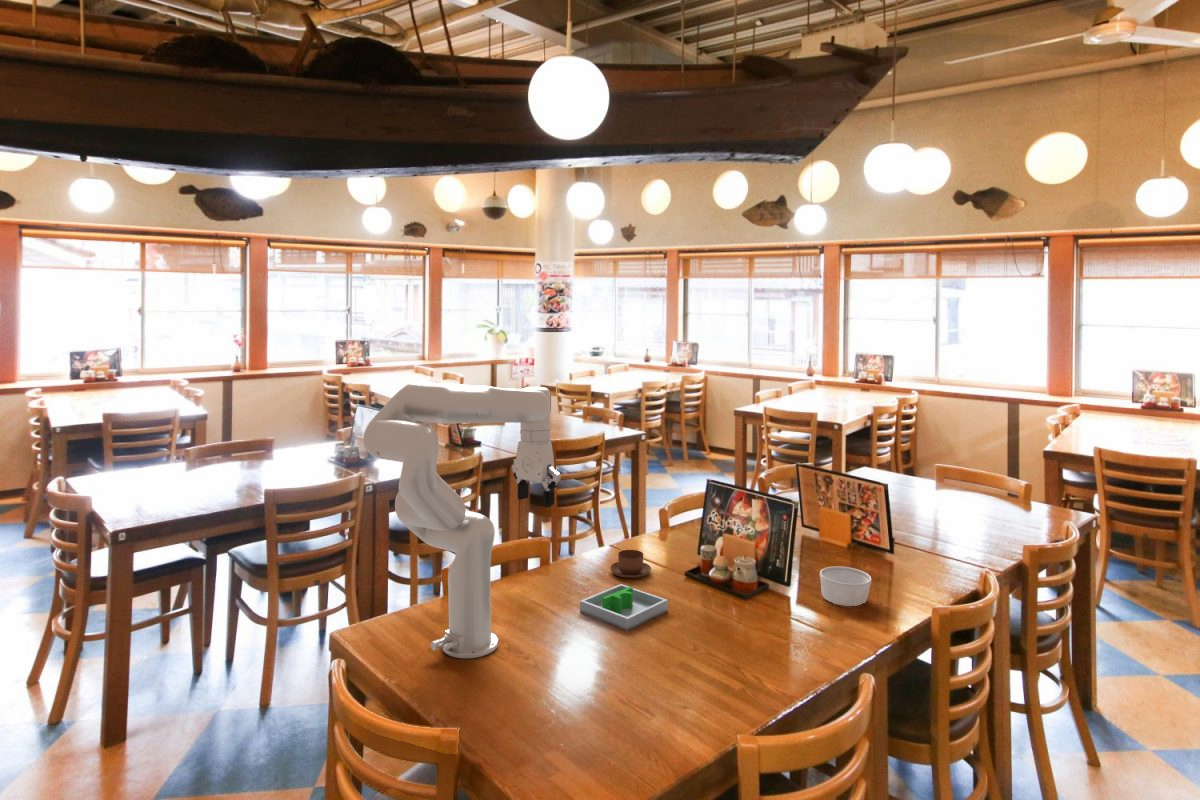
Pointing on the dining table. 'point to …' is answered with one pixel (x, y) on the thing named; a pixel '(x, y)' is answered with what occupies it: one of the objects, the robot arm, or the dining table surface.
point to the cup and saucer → (630, 564)
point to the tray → (641, 611)
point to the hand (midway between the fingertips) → (535, 501)
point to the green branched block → (619, 600)
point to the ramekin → (845, 585)
